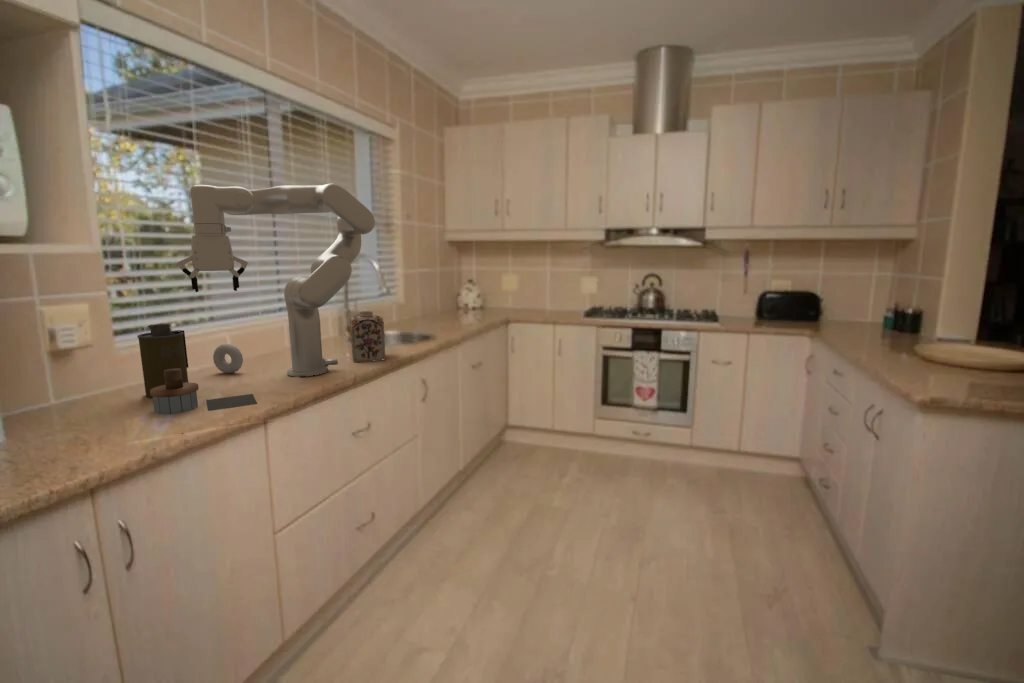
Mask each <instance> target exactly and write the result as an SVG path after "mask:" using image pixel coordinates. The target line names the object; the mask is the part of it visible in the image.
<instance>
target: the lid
mask: <svg viewBox="0 0 1024 683" xmlns="http://www.w3.org/2000/svg"><path fill="white" fill-rule="evenodd" d="M164 378H165V385H162V386H158V387H155V388H152V389H151V390H150V395H151V396H153V397H172V396H180V395H185V394H189V393H192V392H195V391H196V392H197V391H199V389H200V388H199V384H198V383H196V382H190V381H188V382H185V383H183V380H182V372H181V369H180V368H174V369H167V370H164Z"/></svg>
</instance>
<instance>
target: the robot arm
mask: <svg viewBox="0 0 1024 683" xmlns="http://www.w3.org/2000/svg"><path fill="white" fill-rule="evenodd" d="M189 192H190V200H191V209H192V210H191V211H192V217H193V220H192V221H193V228H194V229H193V230H194V235H192V236H191V243H190V244H191V255H190V256H188V257H186V258H184V259H181V260H180V261H177V266H178V267H179V268H180V269H181V271H182V272H183V273H184V274H186V276H188V277H190V280H191V289H192V290H195V291H194V292H195V293H198V292H199V284H198V278H197V275H198V273H200V271H201V272H223V271H225V272H226V271H227V272H228V271H229V272H230V274H232V278H231V279H232V286H233V291H234V292H237V291H238V289H240V281H239V280H240V279H239V277H240V276H241V275H242V274H243V273H244V272H245V270H246V268H247V266H248V261H247V260H244V259H242V258H240V257H237V256H234V255H233V248H232V244H231V240H230V236H228V235H227V233H232V228H231V227H229V226H227V225H226V224H225V222H226V221H225V214H227V215H231V216H247V215H249V216H251V215H292V214H293V215H295V214H318V213H319V214H321V213H332V212H333V213H334V214H335V215H336V216H337V219H336V227H337V237H336V239H335V241H334V242H333V243H331V245H330V246H328V248H327V249H326V250H325V251H324V252H323V253H321V254H320V255H319V256H318V257H317V258H315V259H314V261H313V262H312V264H311V266H310V275H309V276H296V277H292V278H291V279H290V280H289V281H288V282H287V283H286V284H285V287H284V291H283V294H284V295H283V296H284V302H285V306H286V311H287V318H288V332H289V333H288V334H289V341H290V342H289V344H290V345H289V346H290V347H289V348H290V357H291V359H290V360H291V368H289V369H287V370H286V372H287V375H288V376H290V377H295V376H296V377H299V378H300V376H306V377H314V376H313V375H315V376H319V374H320V375H323V373H324V374H326V373H328V372H329V366H336V365H337V366H338V364H339V362H338V358H334V359H333V358H324V357H323V348H322V347H323V344H322V332H321V317H320V310H319V308H321V307H323V306H324V305H326V304H327V303H328V302H329V301H331V299H332V298H333V297H334V296H335V295H336V294H338V292H339V291H340V290H341V289H342V288H344V286H345V285H346V284H348V282H349V280H350V278H351V276H352V272H353V271H352V265H351V264H352V263H353V262H354V260H356V259H357V258H358V256H359V254H360V252H361V249H362V248H361V247H362V236H363V235H367V234H369V233H370V232H372V231H373V230H374V228H375V225H376V224H375V223H376V222H375V217H374V214H373V213H372V212H371V211H370V210H369V208H368V207H366V206H365V205H364V204H363V203H362V202H360V200H359V199H357V198H356V197H355V196H353V194H351V192H349V191H348V190H346V189H345V188H344V187H342V186H341V185H339V184H336V183H333V182H332V183H331V182H330V183H326V184H322V185H321V184H320V185H319V184H318V185H317V184H316V185H315V184H314V185H293V184H292V185H288V184H287V185H277V186H272V187H269V188H268V187H266V188H259V189H256V188H255V189H248V188H245V187H244V186H243V187H242V186H236V185H235V186H215V185H209V184H195V185H192V186H191V187H190V191H189ZM190 262H191V263H192V268H193V270H192V271H190V270H189V269H188V268H187V267H186V264H189V263H190ZM235 263H239V264H240V267H239V269H237V270H236V269H234V268H235ZM327 371H328V372H327Z"/></svg>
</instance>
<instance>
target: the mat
mask: <svg viewBox="0 0 1024 683" xmlns="http://www.w3.org/2000/svg"><path fill="white" fill-rule="evenodd" d="M252 405H253V406H254V405H258V402H257V399H256V398H255V396H254V394H253V393H248V394H241V395H233V396H226V397H218V398H210V399H206V406H207V411H208V412H212V411H218V410H225V409H231V408H239V407H244V406H252Z"/></svg>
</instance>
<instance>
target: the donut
mask: <svg viewBox="0 0 1024 683" xmlns="http://www.w3.org/2000/svg"><path fill="white" fill-rule="evenodd" d="M226 355H228V356H229V357H230V359H231V360H230V363H229V362H228V361H226ZM212 360H213V364H214V365H215V368H217V369H218V371H220V372H222V373H224V374H228V373H229V374H234V373H237V372H238V371H240V370H241V368H242V367H243V364H244V358H243V354H242V352H241V350H240V349H239V348H238V347H237V346H235V345H233V344H230V343H223V344H220V345H219V346H217V347H216V348H215V350H214V351H213V356H212Z"/></svg>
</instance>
